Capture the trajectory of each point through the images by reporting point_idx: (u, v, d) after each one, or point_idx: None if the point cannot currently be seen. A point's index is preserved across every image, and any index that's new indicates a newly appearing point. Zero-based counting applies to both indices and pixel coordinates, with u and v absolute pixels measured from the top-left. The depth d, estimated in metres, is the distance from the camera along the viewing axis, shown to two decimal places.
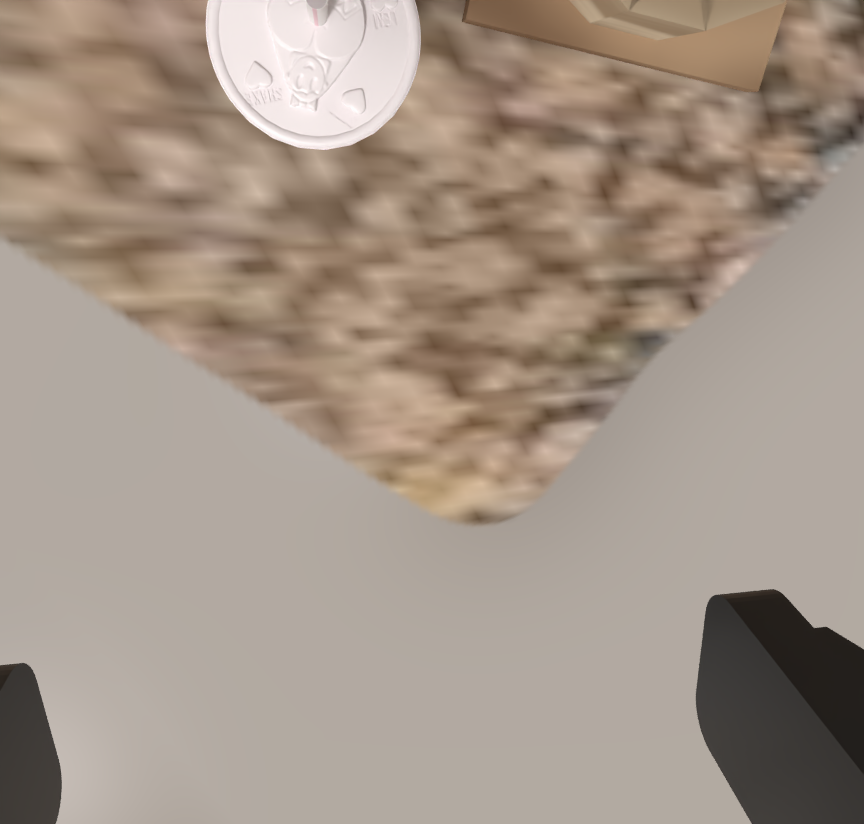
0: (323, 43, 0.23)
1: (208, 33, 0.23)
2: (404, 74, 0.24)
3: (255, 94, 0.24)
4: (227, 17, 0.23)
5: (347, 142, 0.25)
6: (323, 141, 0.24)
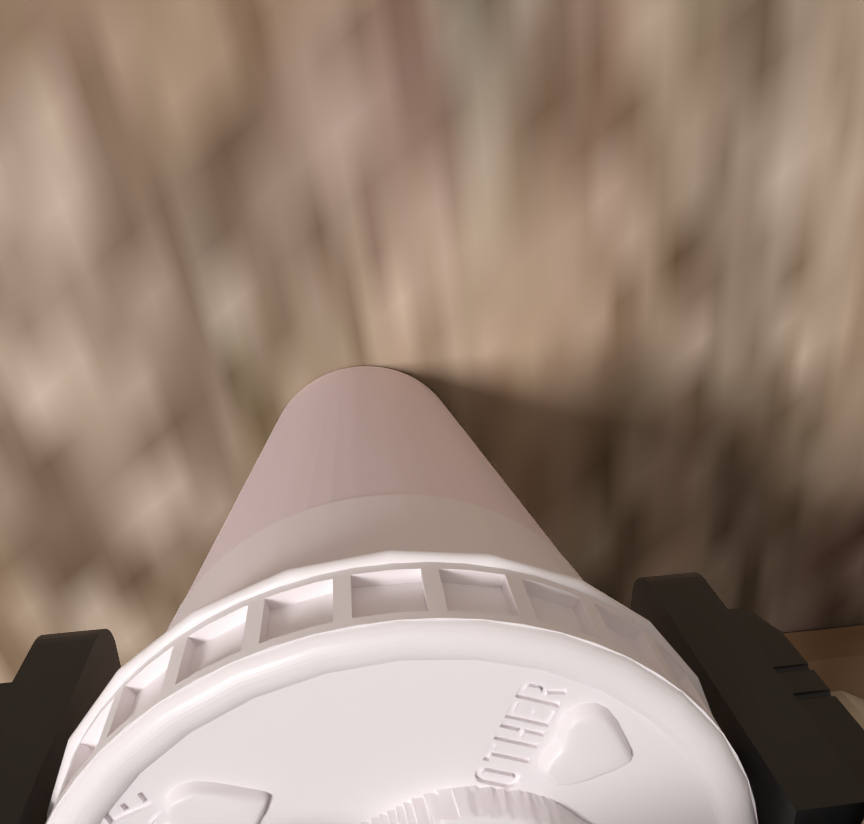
0: None
1: (313, 651, 0.06)
2: None
3: (154, 819, 0.06)
4: (392, 689, 0.06)
5: None
6: None
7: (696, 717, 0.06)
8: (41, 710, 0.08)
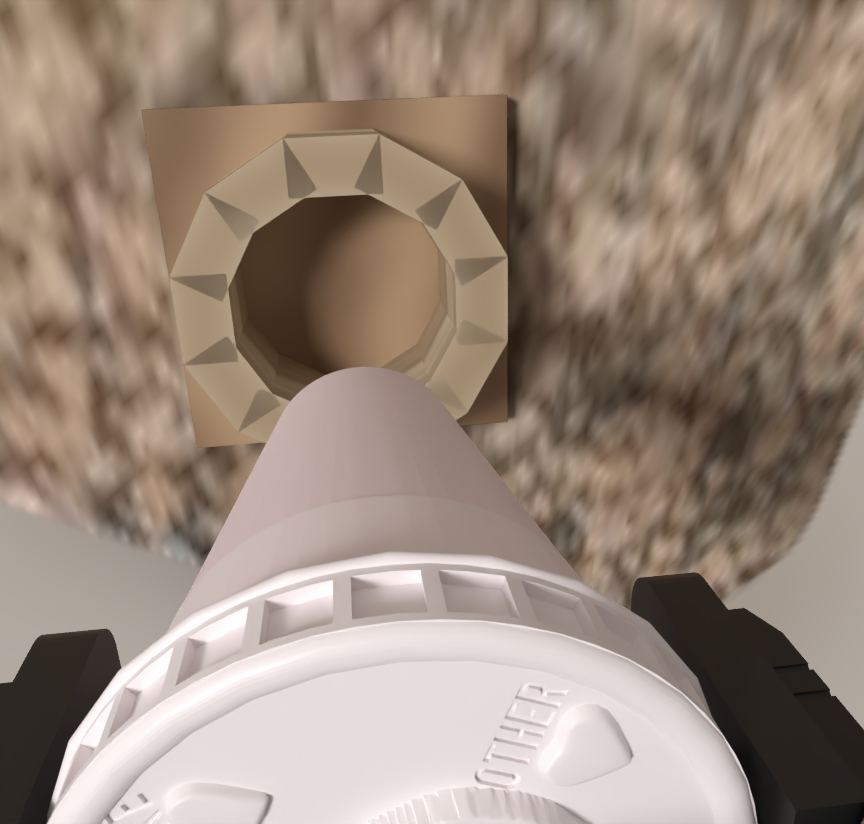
0: None
1: (312, 652, 0.06)
2: None
3: (155, 819, 0.06)
4: (391, 690, 0.06)
5: None
6: None
7: (695, 718, 0.06)
8: (41, 710, 0.08)
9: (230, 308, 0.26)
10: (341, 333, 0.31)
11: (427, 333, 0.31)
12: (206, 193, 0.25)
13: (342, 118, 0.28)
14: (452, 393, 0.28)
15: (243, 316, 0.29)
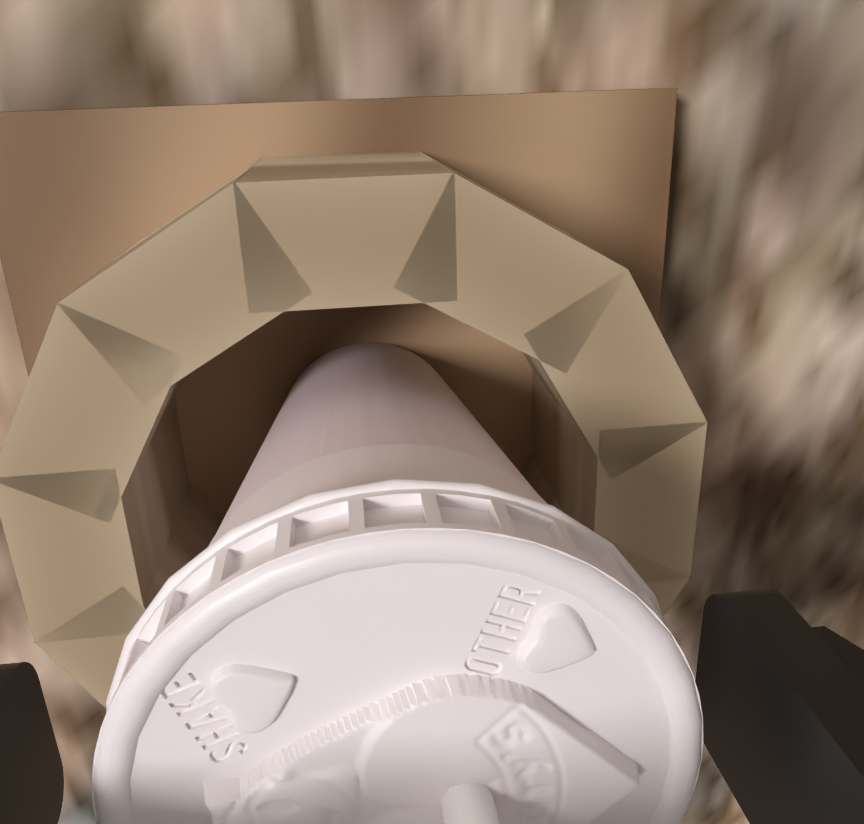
0: None
1: (333, 553, 0.07)
2: None
3: (201, 695, 0.07)
4: (396, 587, 0.07)
5: None
6: None
7: (647, 617, 0.08)
8: None
9: (128, 533, 0.12)
10: None
11: None
12: (62, 304, 0.11)
13: (364, 131, 0.15)
14: None
15: (174, 504, 0.15)
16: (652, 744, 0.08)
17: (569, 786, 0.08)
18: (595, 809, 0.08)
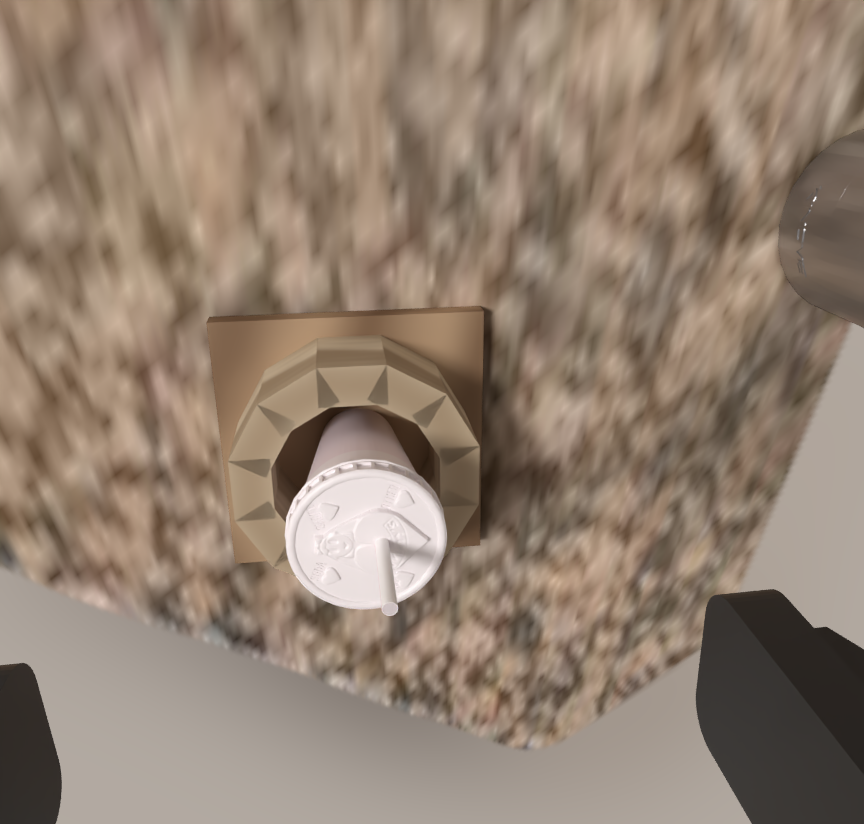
0: (364, 551, 0.31)
1: (349, 474, 0.29)
2: (358, 603, 0.32)
3: (315, 510, 0.30)
4: (364, 484, 0.30)
5: (299, 576, 0.31)
6: (294, 563, 0.31)
7: (427, 494, 0.30)
8: None
9: (271, 481, 0.35)
10: None
11: None
12: (258, 404, 0.34)
13: (358, 327, 0.37)
14: None
15: (277, 474, 0.38)
16: (432, 531, 0.31)
17: (408, 540, 0.31)
18: (416, 548, 0.31)
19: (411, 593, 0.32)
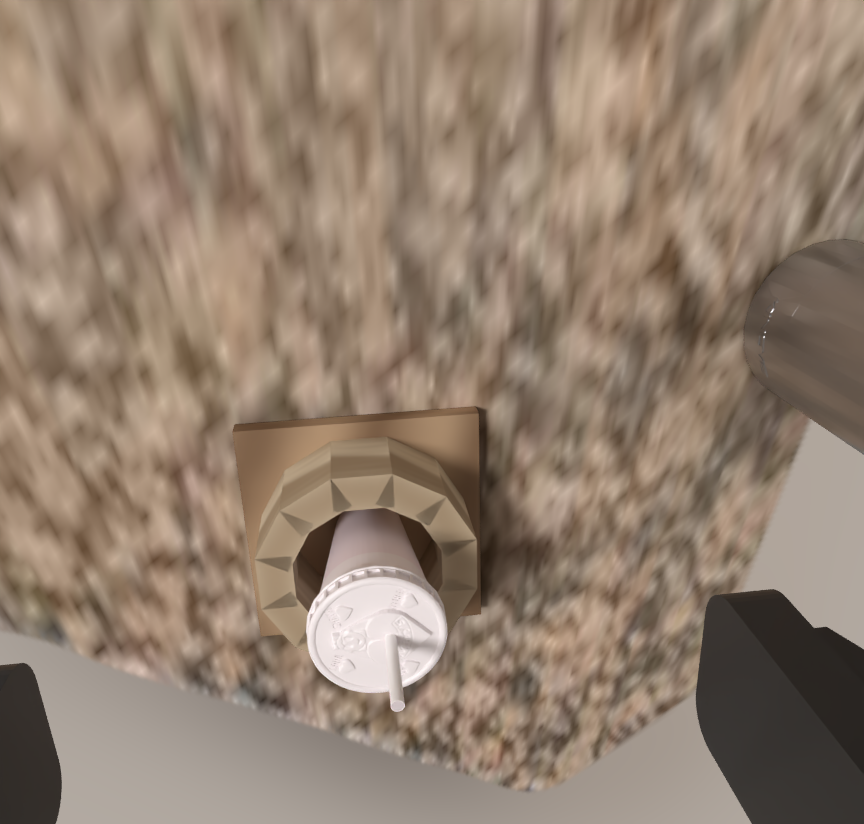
0: (375, 645, 0.35)
1: (361, 582, 0.34)
2: (371, 688, 0.36)
3: (332, 612, 0.35)
4: (374, 589, 0.34)
5: (319, 667, 0.36)
6: (315, 657, 0.35)
7: (429, 596, 0.35)
8: None
9: (293, 575, 0.40)
10: None
11: (423, 564, 0.45)
12: (280, 511, 0.38)
13: (366, 431, 0.42)
14: None
15: (298, 561, 0.43)
16: (434, 626, 0.35)
17: (414, 635, 0.35)
18: (420, 641, 0.35)
19: (417, 678, 0.36)
